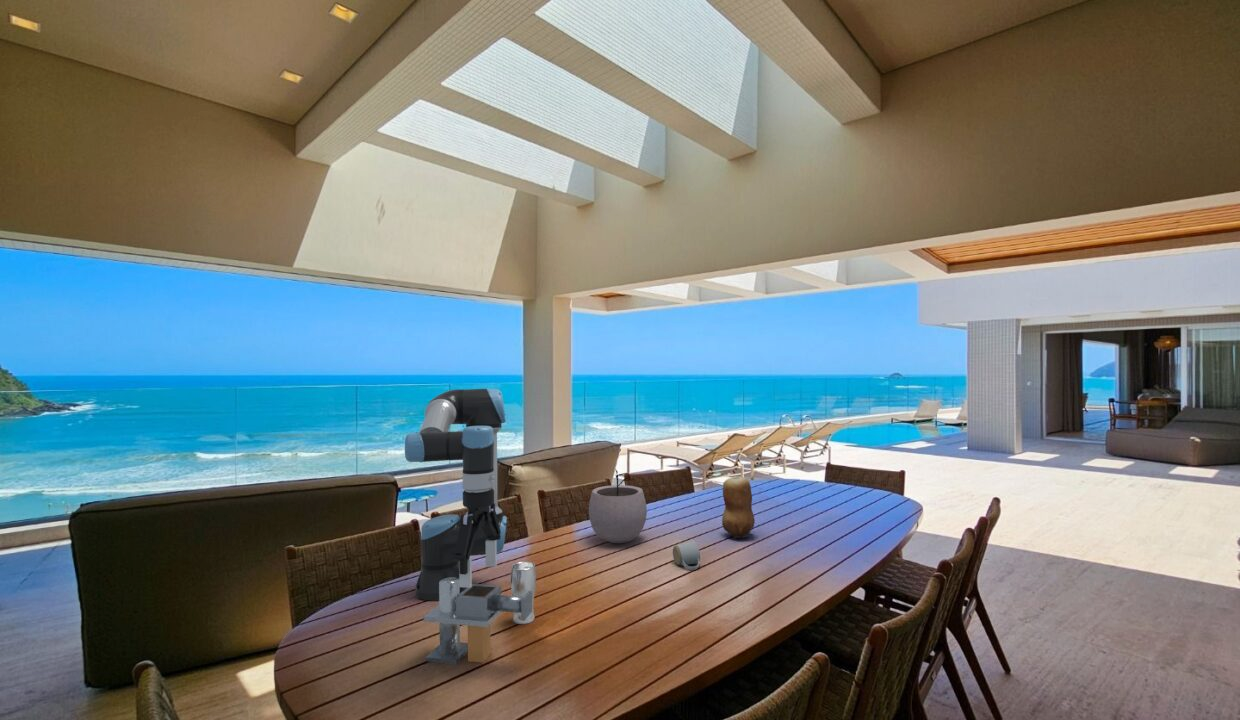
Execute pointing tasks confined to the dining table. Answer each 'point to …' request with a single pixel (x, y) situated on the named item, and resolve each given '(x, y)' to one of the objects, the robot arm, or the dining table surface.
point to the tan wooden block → (478, 643)
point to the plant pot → (617, 512)
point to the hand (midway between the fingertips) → (479, 576)
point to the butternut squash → (737, 507)
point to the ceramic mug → (687, 554)
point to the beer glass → (523, 586)
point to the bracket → (490, 602)
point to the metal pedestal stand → (451, 624)
